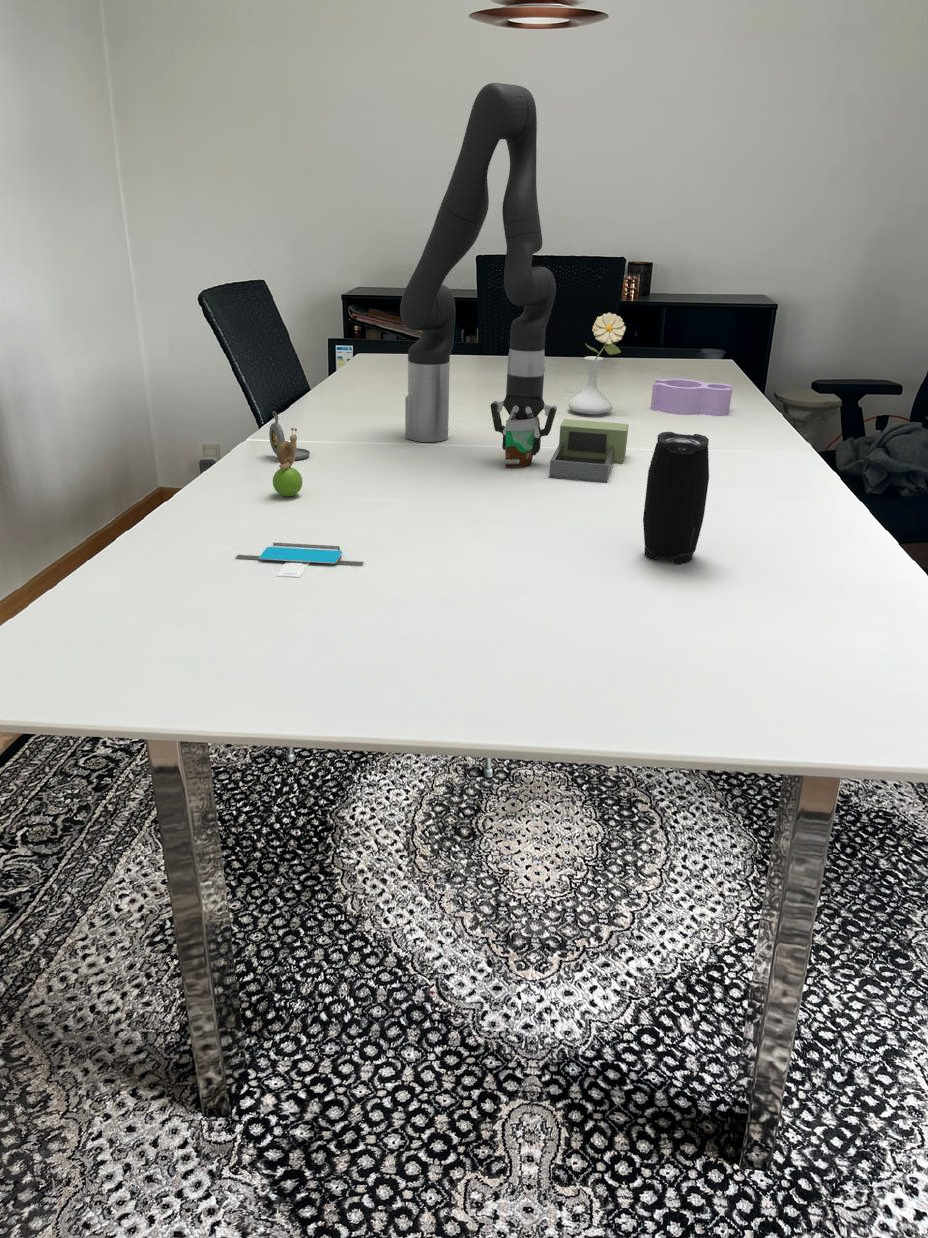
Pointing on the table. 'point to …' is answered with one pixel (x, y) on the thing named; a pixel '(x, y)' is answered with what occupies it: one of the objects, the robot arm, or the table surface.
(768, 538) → the table surface
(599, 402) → the flower in vase
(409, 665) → the table surface
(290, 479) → the snail figurine
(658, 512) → the portable speaker
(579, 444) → the pale green rectangular block
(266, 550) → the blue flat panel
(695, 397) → the purple double cup holder
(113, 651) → the table surface
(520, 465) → the food container
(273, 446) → the pocket watch
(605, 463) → the gray open tray
